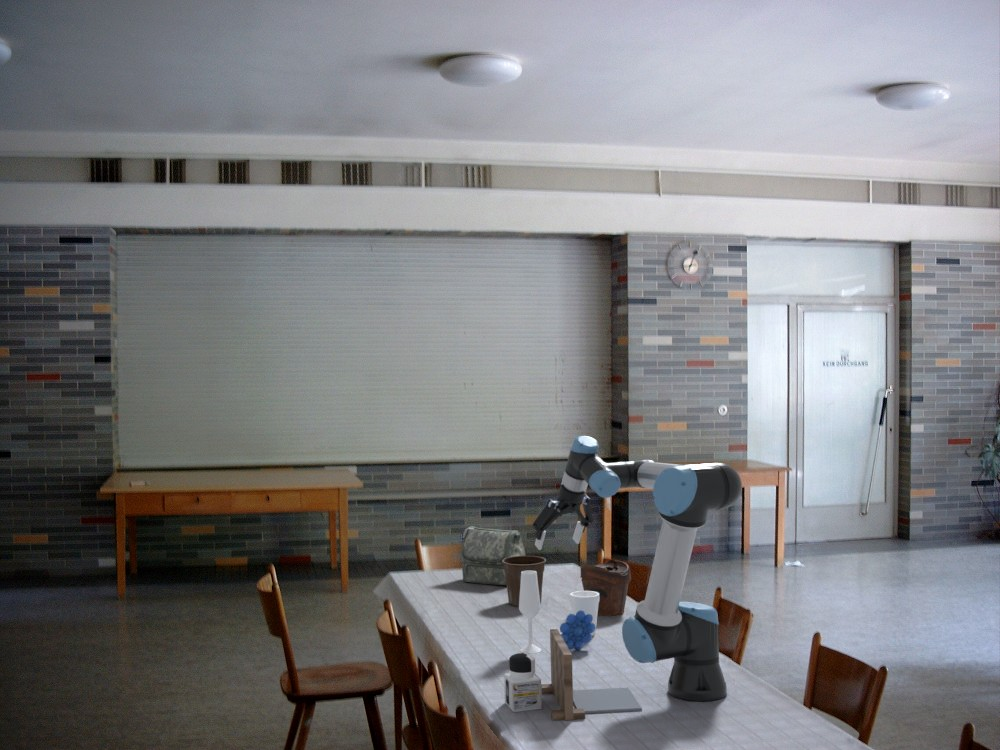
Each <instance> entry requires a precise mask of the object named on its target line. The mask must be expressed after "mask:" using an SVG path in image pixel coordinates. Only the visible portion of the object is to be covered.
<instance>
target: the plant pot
mask: <svg viewBox="0 0 1000 750" xmlns="http://www.w3.org/2000/svg"><path fill="white" fill-rule="evenodd" d="M546 561H547V559H546V558H544V557H543V556H542V557H541V556H536V555H526V556H513V557H508V558H505V559H503V560H502V562H503V563H504V571H505V574H506V582H507V586H506V588H507V600H508V604H509V605H511V606H514V607H519V598H520V583H521V572H522V571H528V570H531V571H536V572H537V580H538V588H539V597H540V605H541V604H542V599H543V598H542V596H543V583H544V582H543V580H544V571H545V566H546V565H545V564H546Z"/></svg>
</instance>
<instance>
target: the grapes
mask: <svg viewBox="0 0 1000 750" xmlns="http://www.w3.org/2000/svg"><path fill="white" fill-rule="evenodd" d="M592 620H593V617H592V615H591V614H587V615H585V612H584V611H578V612H577V613H576V616H575V615H574V614H573V613H569V614H568V615H566V618H565V621H566V622H563V623H562V624H560V626H559V632H560V634H561V636H562V638H563V640H564V641H565V643H566V645H567V647H568V648H569V650H570V651H571V650H572V649H573V648H574V649H575V651H580V650H581V649H583V647H584V644H589V643H591V641H592V639H593V638H592V637H593V636H591V634H590V633H593V632H594V631H595V628H596V629H597V626H596V627H595V624H594V623H591V622H592Z"/></svg>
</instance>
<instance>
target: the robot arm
mask: <svg viewBox="0 0 1000 750" xmlns="http://www.w3.org/2000/svg"><path fill="white" fill-rule="evenodd" d="M599 447H600V445H599V442H598V440H596V439H595V438H594V437H591V436H587V435H579V436H577V437H575V438H574V439H573V441H572V444H571V447H570V449H569V450H570V451H569V455H568V458H567V462H566V465H565V469H564V472H563V476H562V479H561V483H560V486H559V490H558V497H557V500H553V499H551V498H549V499H548V500H547V503H546V505H545V507H544V508H543V509H542V511H541V512H540V513H539V515H538V516H537V517H536V519H535V520H534V521H533V523H532V527H533V528H534V530H535V531H536V532H535V541H534V546H535V547H536V548H537V550H538V551H541V550H543V549H542V548H543V545H544V541H545V537H546V534H547V531H546V530H547V528H549V527H550V526H551V525H552V524H553V523H554V522H555V521H556V520H557V519H558V518H560V517H562V516H563V515H566V514H573V513H575V514H576V516H577V517H578V519H579V520H578V521H577V523H576V525H575V529H574V532H573V535H572V540H573V541H574V542H575V544H577V545H579V544H580V541H581V539H582V536H583V533H585V530H586V528H588V527H589V526H590V524H592V523H593V522H594V519H593V513H592V508H591V501H592V500H591V498H590V497H589V496H588V495H587V494H586V492H587V490H588V487H590V489H591V490H592V491H593V492H595V494H597V496H598V497H600V498H603V499H605V498H606V499H607V498H611V496H615V495H616V494H617V493H618V492H619V490H620V489H622V490H623V489H627V488H628V489H629V488H640V489H641V488H642V489H649V490H650V489H651V490H652V497H654V499H653V503H654V506H655V508H656V509H657V511H658V515H659V517H660V518H661V520H662V522H661V528H660V531H659V534H658V540H657V545H656V549H655V553H654V558H653V562H652V566H651V571H650V576H649V579H648V585H647V588H646V591H645V596H644V600H643V599H642V600H641V601H639V602H638V603H637V605H636V609H635V614H634V616H629V617H628V618H626V619H625V620H624V621H623V623H622V626H621V627H622V628H621V635H622V639H623V643H624V647H625V649H626V650H627V652H628V654H629V655H630V657H631V658H632V659H633V660H634V661H635V662H638V663H639V664H646V663H647V664H648V663H652V664H654V663H655V662H659V661H663V660H664V661H665V660H669V659H673V665H672V667H671V672H670V675H669V677H668V681H667V682H668V683H667V693H668V694H670V695H671V696H673V697H675V698H678V699H682V700H685V701H694V702H710V701H715V700H721V699H722V698H724V697H726V695H727V690H728V689H727V682H726V680H725V677H724V676H725V675H724V674H723V671H722V668H721V665H720V649H719V648H720V647H719V646H720V644H719V643H720V642H719V637H720V636H719V630H720V629H719V627H720V623H719V616H718V611H717V610H716V608H715V607H713V606H711V605H709V604H706V603H705V604H704V603H698V602H691V601H681V598H682V594H683V590H684V589H683V588H684V585H685V582H686V578H687V572H688V569H689V564H690V560H691V557H692V553H693V550H694V549H693V548H694V544H695V541H696V540H695V539H696V537H697V536H696V535H697V533H698V529H700V528H703V527H704V526H705V525H706V521H707V518H708V513H709V512H714V511H721V510H725V509H728V508H729V507H731V506H732V505H734V504H735V503H736V502H737V501H738V499H739V497H740V496H741V494H742V489H743V485H742V484H743V483H742V480H741V479H742V478H741V476H740V474H739V472H737V470H736V469H735V468H734V467H732V466H731V465H728V464H726V463H724V462H723V463H722V462H708V463H700V464H698V463H697V464H675V463H666V462H655V461H654V460H652V459H639V460H638V459H637V460H629V461H615V462H606V461H604V459H602V458H601V456H599V454H598V452H599ZM581 505H582V507H583V512H584V514H583V513H582V511H581V509H580V508H579V507H580V506H581ZM558 510H559V511H558Z"/></svg>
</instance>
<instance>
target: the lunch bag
mask: <svg viewBox="0 0 1000 750" xmlns="http://www.w3.org/2000/svg"><path fill="white" fill-rule="evenodd" d="M458 543H461V555H460V560H461V569H462V571H461V572H462V581H463V582H465V583H470V584H471V583H474V584H482V585H492V586H493V585H495V586H506V587H507V582H506V574H505V571H504V563H503V562H502V560H503V559H505V558H508V557H513V556H527V555H526V552H525V546H524V543H523V539H522V535H521V533H520V531H519V530H516V529H515V530H508V529H506V530H505V529H496V528H482V527H476V526H473V525H471V526H469V527H467V528H465V529H464V530H463V532H462V533H460V536H459V541H458Z"/></svg>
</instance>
